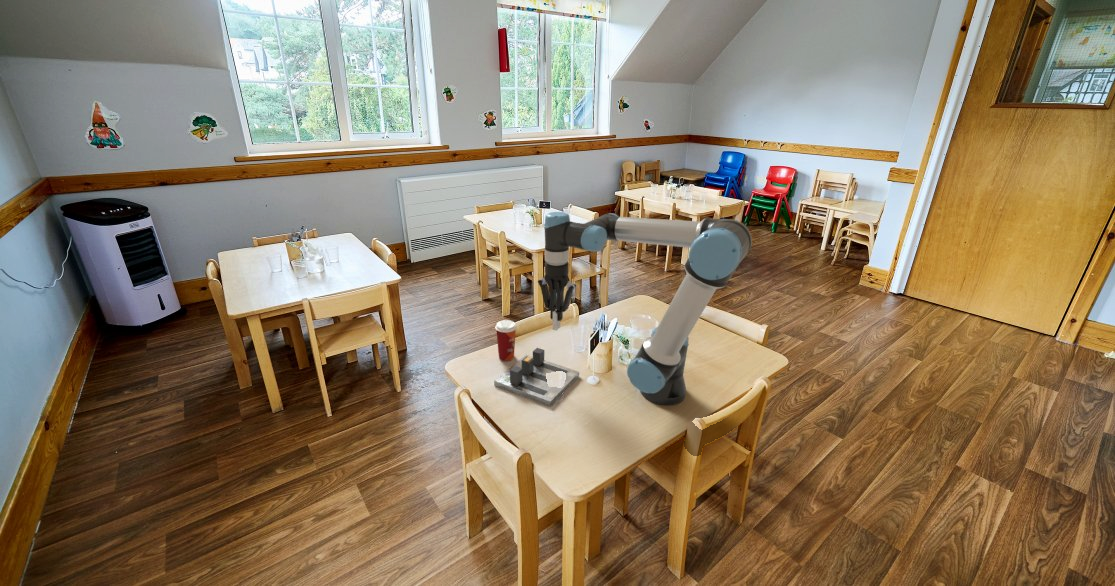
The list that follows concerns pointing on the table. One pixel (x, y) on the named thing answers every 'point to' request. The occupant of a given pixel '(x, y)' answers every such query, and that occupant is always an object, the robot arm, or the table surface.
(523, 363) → the block
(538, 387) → the panel
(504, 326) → the paper cup
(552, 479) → the table surface
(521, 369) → the block
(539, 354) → the block
